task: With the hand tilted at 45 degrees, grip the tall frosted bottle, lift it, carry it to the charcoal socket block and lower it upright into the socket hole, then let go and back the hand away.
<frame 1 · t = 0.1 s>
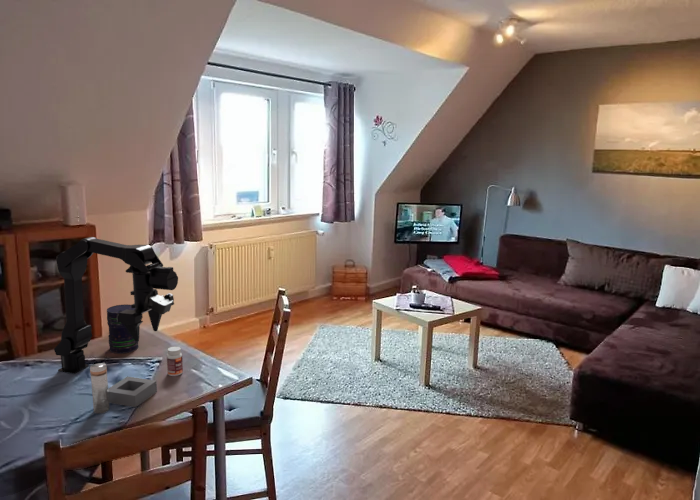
hand: (146, 336, 163), 15 cm above the table, tool pointing down, fingers open, 9 cm apart
pill bottle: (175, 373, 172), on the table
socket block: (131, 396, 156), on the table
frosted bottle: (101, 409, 148), on the table
storage jar: (124, 348, 191), on the table
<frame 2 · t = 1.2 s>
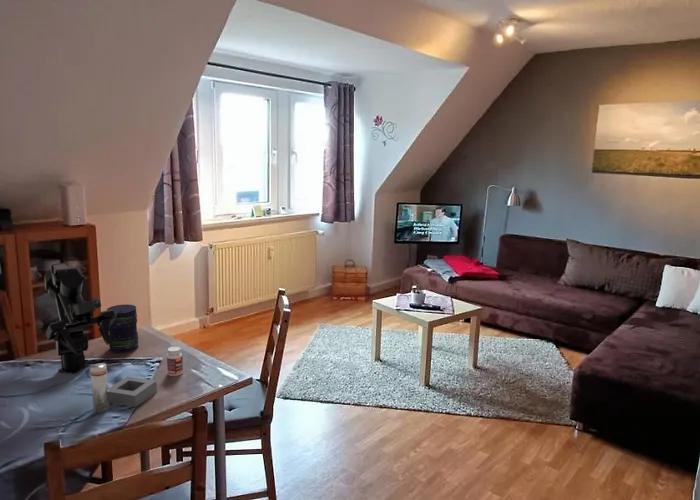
hand: (92, 348, 156), 13 cm above the table, tool tilted 45°, fingers open, 9 cm apart
nothing on the table moved.
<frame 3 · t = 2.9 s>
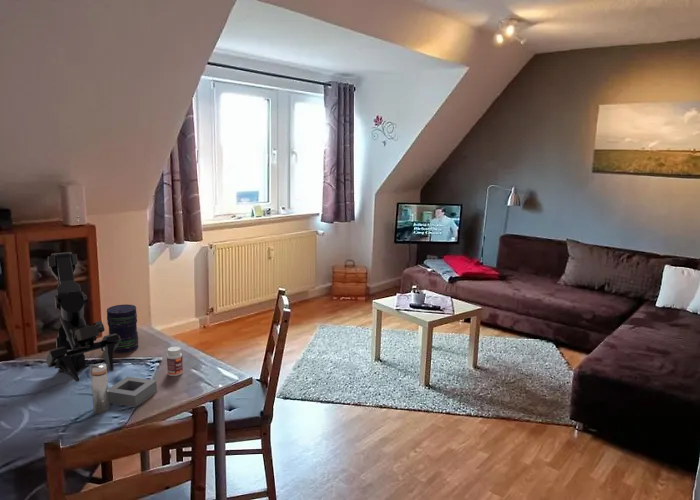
hand: (95, 375, 147), 10 cm above the table, tool tilted 45°, fingers open, 9 cm apart
nothing on the table moved.
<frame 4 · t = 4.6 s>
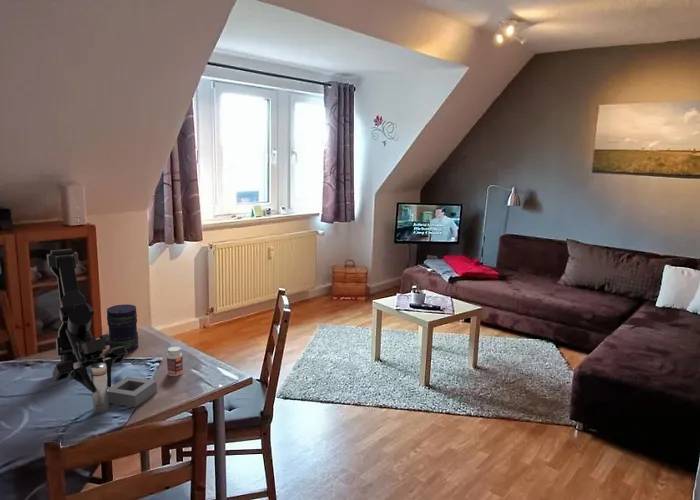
hand: (102, 389, 146), 7 cm above the table, tool tilted 45°, fingers closed on frosted bottle, 4 cm apart
frosted bottle: (101, 409, 148), on the table, touching gripper
everything else where it was.
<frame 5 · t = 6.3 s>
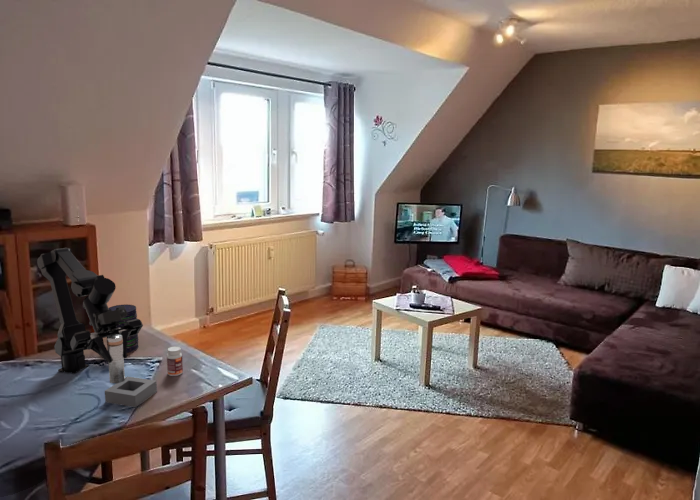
hand: (118, 359, 149), 13 cm above the table, tool tilted 45°, fingers closed on frosted bottle, 4 cm apart
frosted bottle: (117, 380, 151), point 7 cm above the table, touching gripper
everything else where it was.
when the fingers open (8 cm above the table, at t = 8.3 s): frosted bottle stays where it is, resting on socket block.
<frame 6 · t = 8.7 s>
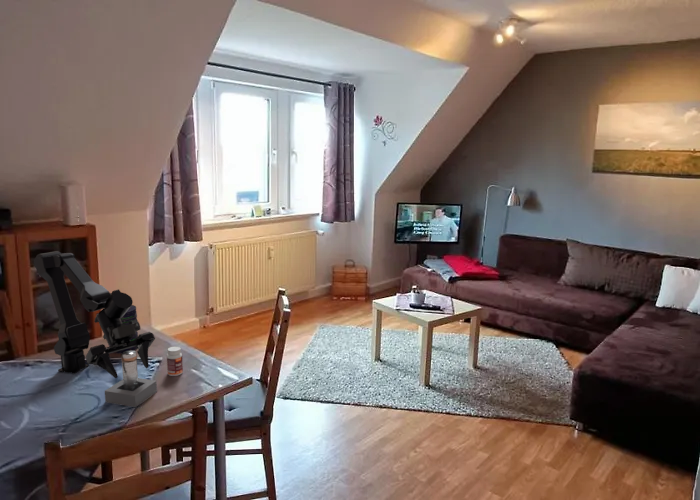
hand: (132, 372, 153), 8 cm above the table, tool tilted 45°, fingers open, 9 cm apart
frosted bottle: (131, 395, 156), point 1 cm above the table, touching socket block
everything else where it was.
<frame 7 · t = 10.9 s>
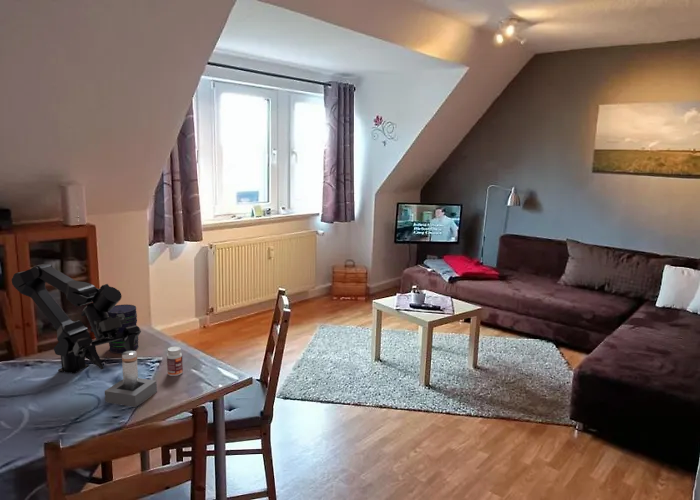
hand: (118, 364, 159), 8 cm above the table, tool tilted 45°, fingers open, 9 cm apart
nothing on the table moved.
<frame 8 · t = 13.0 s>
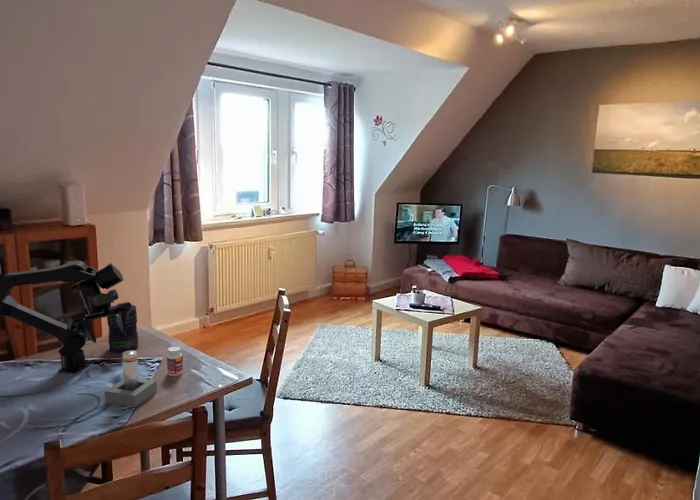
hand: (110, 338, 164), 14 cm above the table, tool tilted 45°, fingers open, 9 cm apart
nothing on the table moved.
at the end: frosted bottle 0.0 cm off-centre on the socket block, point 0.5 cm above the socket block's base; frosted bottle tilted 1°; the gripper is holding nothing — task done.
